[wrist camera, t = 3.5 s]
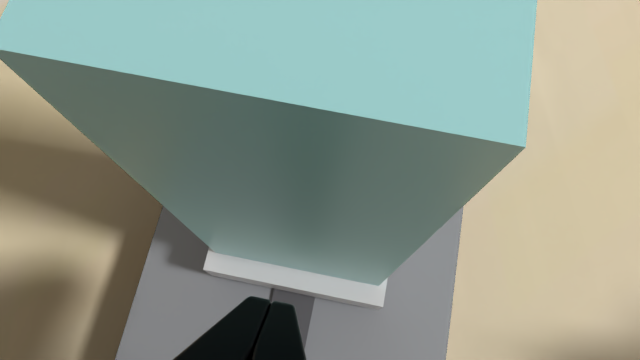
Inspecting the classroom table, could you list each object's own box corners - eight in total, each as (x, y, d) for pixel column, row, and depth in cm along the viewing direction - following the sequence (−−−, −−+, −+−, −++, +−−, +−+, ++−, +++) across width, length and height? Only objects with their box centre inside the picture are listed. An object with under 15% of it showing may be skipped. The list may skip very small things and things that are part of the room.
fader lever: (377, 310, 14) (549, 214, 4) (212, 275, 14) (-62, 96, 4) (398, 177, 15) (571, -173, 5) (246, 148, 15) (104, -242, 5)
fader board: (412, 529, 14) (424, 552, 12) (103, 457, 14) (78, 471, 13) (471, 43, 19) (485, 17, 17) (240, 3, 19) (234, -26, 18)
